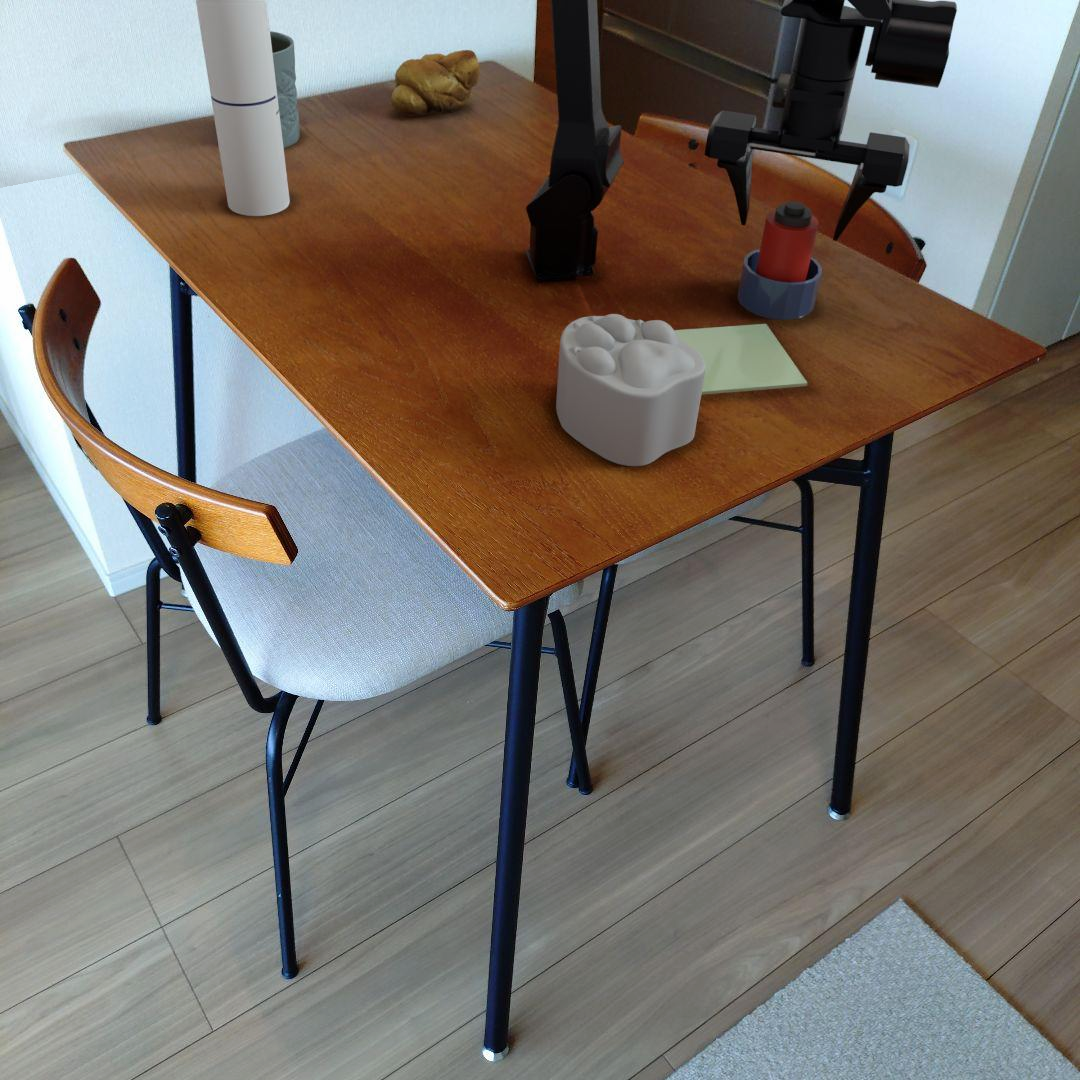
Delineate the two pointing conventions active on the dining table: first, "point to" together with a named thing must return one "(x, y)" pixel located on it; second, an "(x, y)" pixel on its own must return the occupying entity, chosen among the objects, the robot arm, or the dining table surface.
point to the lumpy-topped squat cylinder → (628, 387)
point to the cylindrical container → (245, 104)
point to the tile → (742, 359)
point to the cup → (777, 291)
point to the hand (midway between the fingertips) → (789, 231)
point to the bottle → (787, 243)
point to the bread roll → (435, 83)
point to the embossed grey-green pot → (286, 86)
